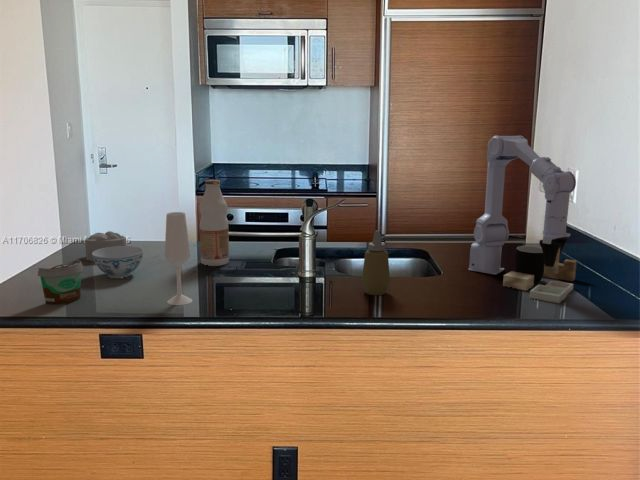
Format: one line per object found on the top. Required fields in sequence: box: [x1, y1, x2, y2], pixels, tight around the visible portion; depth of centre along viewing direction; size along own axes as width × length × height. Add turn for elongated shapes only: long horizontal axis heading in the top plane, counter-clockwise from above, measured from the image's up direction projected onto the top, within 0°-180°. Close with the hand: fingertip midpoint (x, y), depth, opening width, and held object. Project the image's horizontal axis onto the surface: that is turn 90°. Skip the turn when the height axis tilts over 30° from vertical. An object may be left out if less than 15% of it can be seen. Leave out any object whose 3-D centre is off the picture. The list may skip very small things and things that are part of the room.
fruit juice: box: [198, 179, 230, 267], centre depth 194 cm, size 9×9×28 cm
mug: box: [515, 245, 545, 285], centre depth 180 cm, size 12×9×10 cm
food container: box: [37, 258, 84, 305], centre depth 157 cm, size 12×6×10 cm, turn 148°
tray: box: [528, 283, 568, 304], centre depth 164 cm, size 8×8×2 cm
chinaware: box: [92, 245, 144, 279], centre depth 181 cm, size 15×15×8 cm
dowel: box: [544, 248, 561, 274], centre depth 162 cm, size 4×4×8 cm
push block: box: [502, 270, 535, 292], centre depth 174 cm, size 7×6×4 cm
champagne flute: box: [164, 211, 193, 306], centre depth 155 cm, size 7×7×24 cm
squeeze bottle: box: [361, 230, 391, 296], centre depth 165 cm, size 8×8×18 cm
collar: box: [545, 279, 574, 295], centre depth 171 cm, size 6×6×2 cm
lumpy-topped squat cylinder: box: [84, 230, 128, 261], centre depth 203 cm, size 10×13×9 cm
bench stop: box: [542, 258, 578, 282], centre depth 185 cm, size 17×3×6 cm, turn 54°
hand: (551, 264), depth 162 cm, fingers closed on dowel, 4 cm apart
